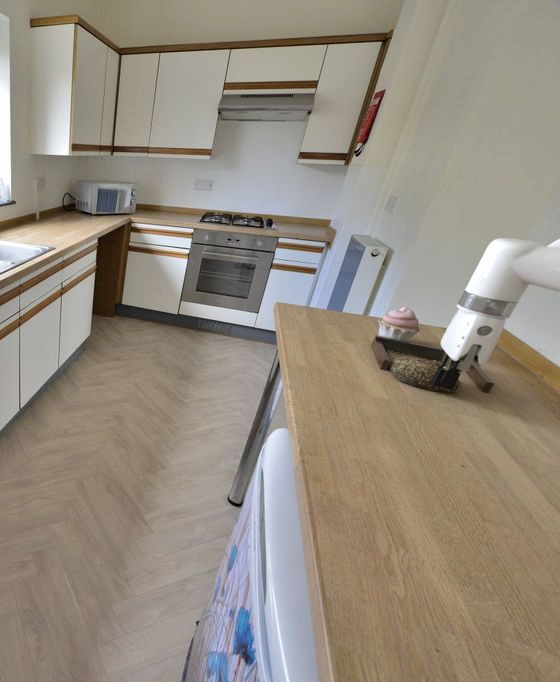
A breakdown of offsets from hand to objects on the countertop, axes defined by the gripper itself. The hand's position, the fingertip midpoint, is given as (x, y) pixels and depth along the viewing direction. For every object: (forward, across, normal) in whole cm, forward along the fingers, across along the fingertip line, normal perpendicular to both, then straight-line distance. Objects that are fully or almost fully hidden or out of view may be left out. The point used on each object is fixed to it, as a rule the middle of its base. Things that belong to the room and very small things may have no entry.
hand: (441, 385), depth 87 cm
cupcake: (+2, +31, +3) cm, 31 cm away
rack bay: (+2, +15, -1) cm, 15 cm away
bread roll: (+2, +7, +1) cm, 7 cm away
